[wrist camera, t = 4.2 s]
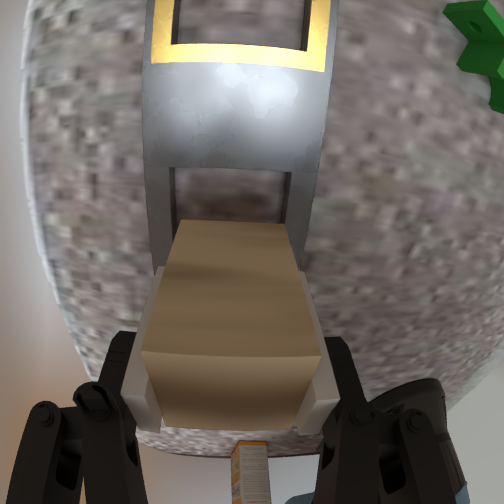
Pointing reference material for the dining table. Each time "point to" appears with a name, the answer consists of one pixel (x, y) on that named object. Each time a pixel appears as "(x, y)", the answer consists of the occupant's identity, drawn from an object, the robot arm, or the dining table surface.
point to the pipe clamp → (481, 44)
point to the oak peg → (230, 329)
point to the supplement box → (250, 473)
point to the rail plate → (234, 114)
